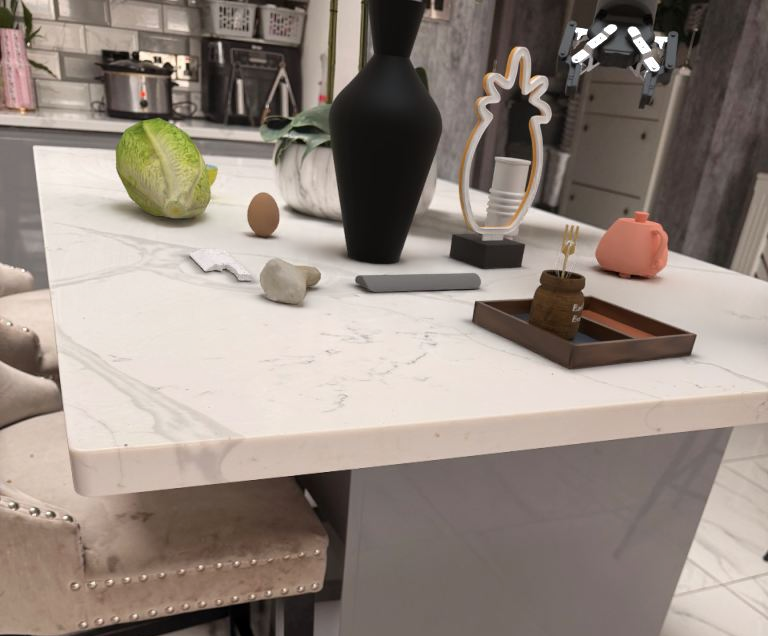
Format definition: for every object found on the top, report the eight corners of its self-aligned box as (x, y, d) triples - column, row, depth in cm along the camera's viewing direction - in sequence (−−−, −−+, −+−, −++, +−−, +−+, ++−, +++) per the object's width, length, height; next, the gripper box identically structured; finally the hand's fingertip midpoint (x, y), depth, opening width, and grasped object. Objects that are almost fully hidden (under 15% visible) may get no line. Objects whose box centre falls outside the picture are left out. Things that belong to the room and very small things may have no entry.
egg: (241, 235, 128) (241, 191, 125) (255, 231, 133) (256, 188, 130) (270, 240, 127) (271, 196, 124) (284, 236, 132) (285, 193, 128)
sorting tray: (586, 314, 105) (591, 295, 104) (690, 355, 92) (697, 334, 91) (471, 321, 96) (474, 300, 94) (570, 369, 83) (575, 345, 81)
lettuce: (223, 250, 134) (129, 255, 130) (203, 185, 150) (118, 187, 145) (219, 166, 123) (116, 168, 119) (198, 104, 139) (106, 104, 134)
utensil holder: (526, 337, 89) (547, 229, 83) (527, 323, 94) (547, 221, 89) (576, 344, 88) (601, 236, 82) (575, 330, 94) (598, 228, 88)
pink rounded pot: (632, 265, 142) (646, 207, 137) (683, 284, 131) (702, 222, 126) (578, 264, 138) (591, 204, 133) (627, 284, 127) (644, 219, 122)
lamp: (503, 254, 138) (538, 52, 123) (537, 266, 132) (579, 54, 117) (431, 257, 129) (459, 39, 114) (464, 269, 123) (498, 40, 108)
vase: (386, 245, 134) (409, 9, 117) (446, 268, 122) (482, 9, 105) (301, 247, 125) (313, -9, 108) (357, 272, 113) (380, -11, 96)
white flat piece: (213, 281, 100) (213, 272, 99) (189, 255, 111) (189, 248, 111) (251, 280, 102) (251, 271, 101) (223, 255, 113) (223, 248, 113)
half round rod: (352, 285, 106) (353, 271, 105) (465, 282, 115) (467, 270, 114) (366, 293, 103) (367, 279, 102) (482, 289, 112) (484, 277, 111)
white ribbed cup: (516, 248, 146) (531, 163, 138) (480, 243, 146) (493, 158, 139) (517, 242, 151) (532, 160, 144) (482, 238, 152) (495, 155, 145)
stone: (303, 308, 93) (304, 267, 90) (253, 302, 93) (253, 261, 91) (320, 287, 103) (322, 250, 100) (275, 282, 103) (275, 245, 101)
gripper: (576, -34, 95) (553, 67, 91) (693, -24, 93) (675, 80, 89) (568, 20, 103) (546, 116, 98) (677, 31, 100) (659, 130, 96)
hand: (607, 99), depth 94 cm, fingers open, 8 cm apart
